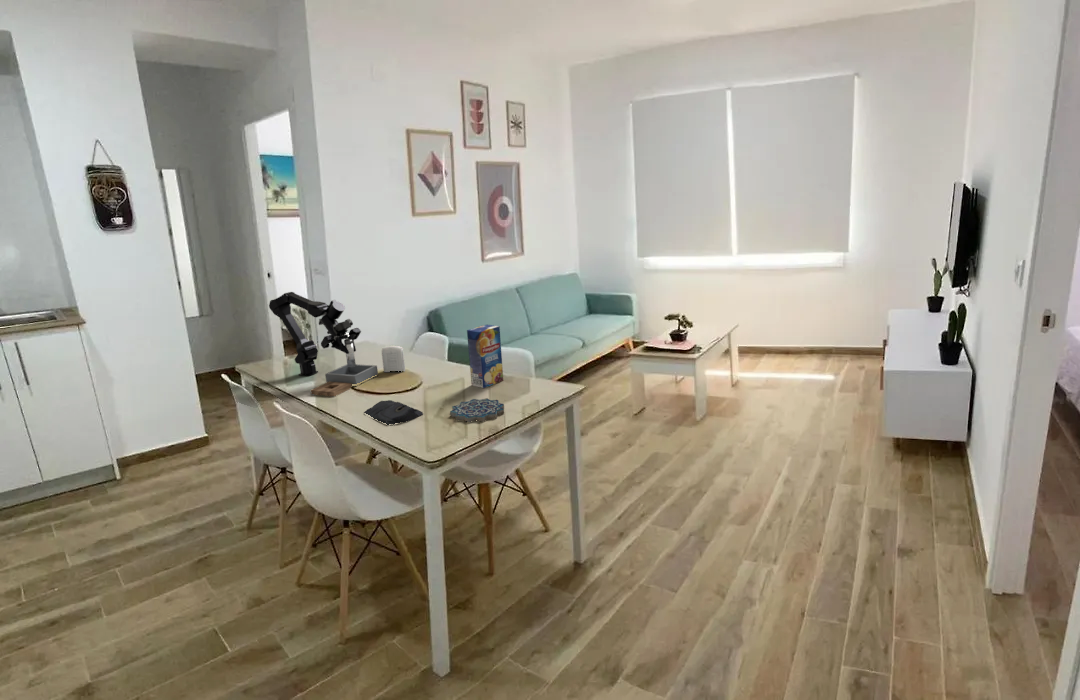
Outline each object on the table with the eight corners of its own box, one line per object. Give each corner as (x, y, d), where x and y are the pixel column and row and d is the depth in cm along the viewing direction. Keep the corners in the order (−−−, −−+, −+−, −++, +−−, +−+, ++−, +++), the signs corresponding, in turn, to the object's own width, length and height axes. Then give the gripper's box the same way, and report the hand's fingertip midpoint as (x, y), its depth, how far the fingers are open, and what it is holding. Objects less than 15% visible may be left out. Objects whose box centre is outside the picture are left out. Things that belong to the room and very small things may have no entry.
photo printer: (406, 369, 289) (403, 344, 285) (404, 372, 285) (401, 346, 281) (385, 370, 290) (382, 344, 287) (382, 372, 286) (379, 347, 282)
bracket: (311, 394, 260) (310, 390, 259) (330, 385, 271) (329, 381, 270) (334, 396, 256) (333, 392, 255) (352, 387, 266) (351, 383, 266)
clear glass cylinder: (346, 367, 273) (342, 341, 270) (349, 365, 276) (345, 339, 273) (354, 367, 273) (351, 340, 270) (356, 364, 276) (353, 338, 273)
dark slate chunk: (395, 403, 245) (394, 392, 243) (426, 416, 229) (425, 404, 228) (360, 414, 235) (358, 403, 233) (390, 428, 219) (388, 416, 218)
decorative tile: (485, 426, 216) (484, 420, 215) (440, 419, 225) (439, 412, 225) (514, 407, 233) (514, 402, 232) (471, 401, 242) (471, 395, 242)
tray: (326, 384, 273) (325, 373, 272) (349, 373, 287) (348, 363, 286) (356, 386, 267) (355, 376, 266) (378, 375, 282) (376, 365, 281)
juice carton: (483, 388, 256) (479, 332, 250) (471, 385, 261) (466, 330, 255) (503, 380, 265) (499, 326, 259) (491, 377, 270) (487, 324, 263)
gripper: (321, 318, 263) (341, 346, 260) (355, 310, 278) (375, 336, 275) (312, 334, 270) (331, 361, 266) (346, 325, 284) (365, 351, 281)
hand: (351, 352), depth 272 cm, fingers closed on clear glass cylinder, 4 cm apart
